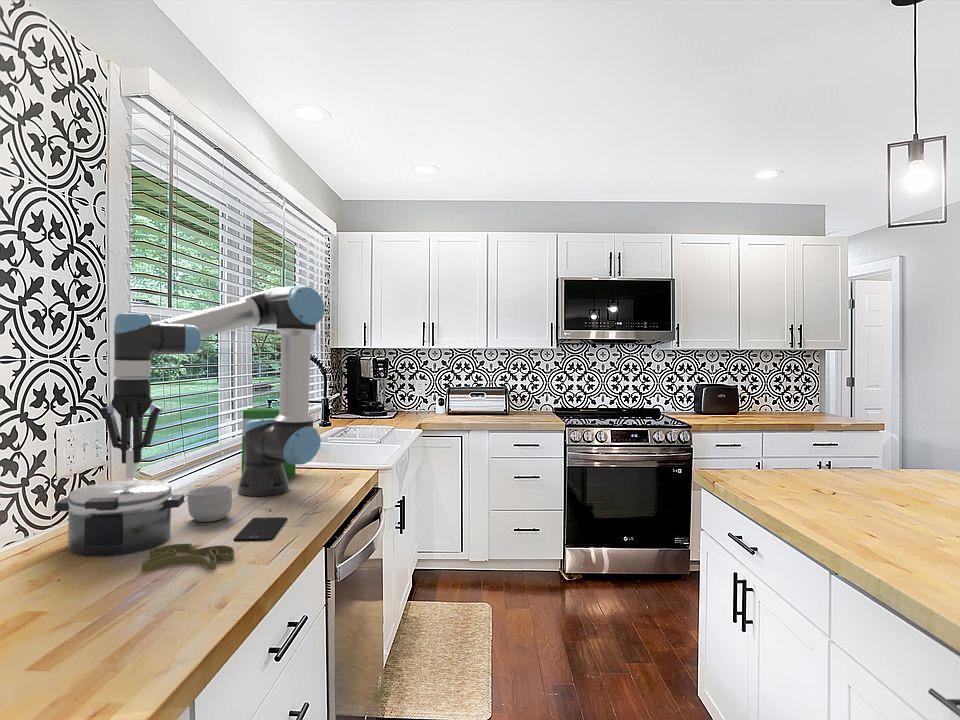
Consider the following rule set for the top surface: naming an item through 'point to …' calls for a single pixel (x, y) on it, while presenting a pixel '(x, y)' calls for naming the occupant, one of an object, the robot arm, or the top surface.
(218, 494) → the teacup
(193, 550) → the cookie cutter
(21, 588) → the top surface
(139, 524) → the cooker
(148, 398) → the robot arm
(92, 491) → the lid
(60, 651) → the top surface
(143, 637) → the top surface
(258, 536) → the cell phone
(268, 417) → the hardback book
